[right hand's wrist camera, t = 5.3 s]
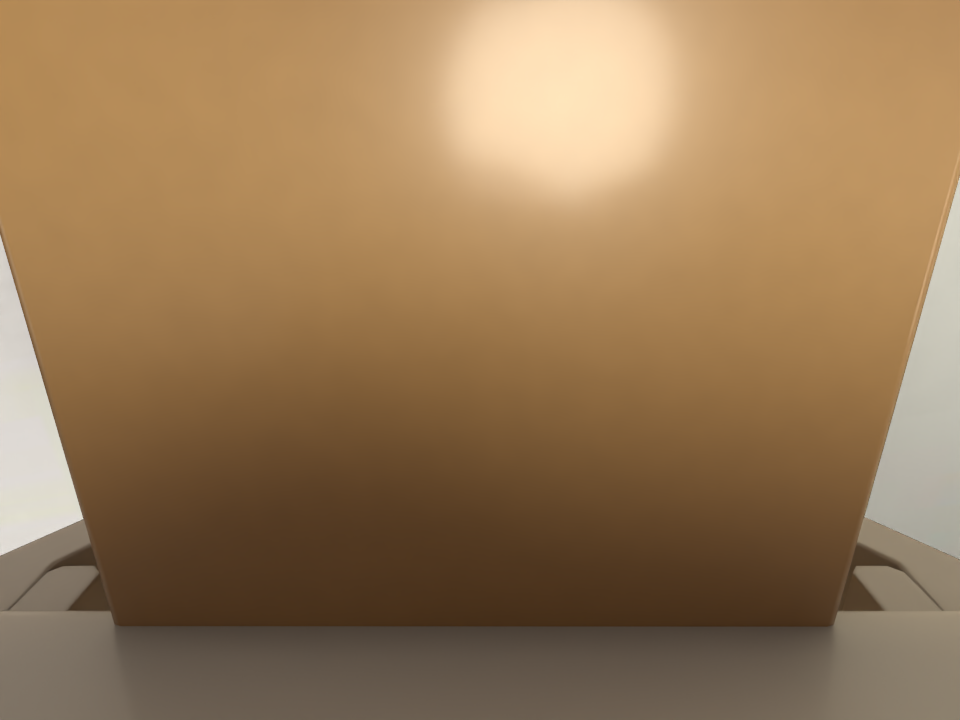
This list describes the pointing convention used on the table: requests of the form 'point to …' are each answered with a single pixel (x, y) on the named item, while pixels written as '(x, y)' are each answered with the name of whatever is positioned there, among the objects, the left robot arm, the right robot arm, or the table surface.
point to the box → (475, 297)
